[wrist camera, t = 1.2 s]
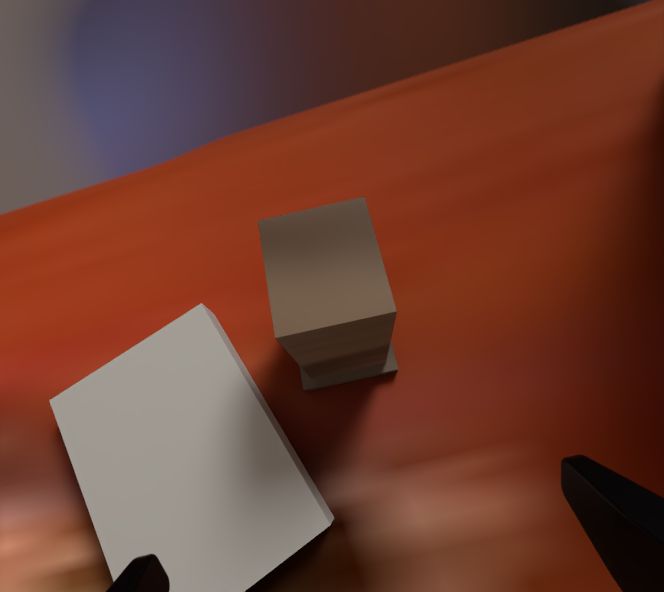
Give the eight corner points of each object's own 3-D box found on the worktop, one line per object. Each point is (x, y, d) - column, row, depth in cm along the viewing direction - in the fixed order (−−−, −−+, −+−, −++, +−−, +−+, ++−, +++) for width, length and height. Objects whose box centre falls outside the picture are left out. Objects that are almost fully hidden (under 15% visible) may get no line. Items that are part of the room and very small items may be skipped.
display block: (334, 517, 20) (330, 524, 18) (167, 645, 19) (144, 668, 17) (213, 313, 25) (201, 303, 23) (74, 403, 23) (49, 400, 22)
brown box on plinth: (397, 371, 22) (417, 320, 13) (305, 391, 22) (260, 355, 13) (373, 281, 25) (376, 183, 15) (289, 299, 25) (242, 213, 15)
